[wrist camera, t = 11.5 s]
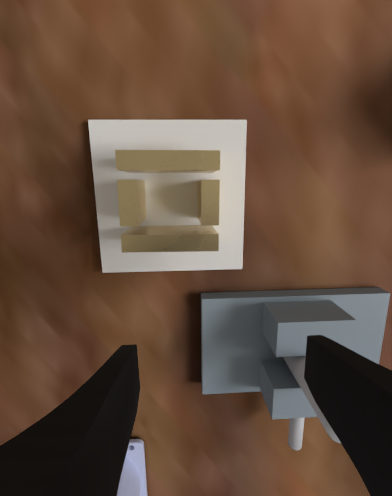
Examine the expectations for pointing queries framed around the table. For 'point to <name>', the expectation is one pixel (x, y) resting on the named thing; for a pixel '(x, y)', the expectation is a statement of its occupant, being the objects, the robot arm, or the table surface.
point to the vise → (284, 343)
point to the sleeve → (135, 201)
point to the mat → (170, 190)
